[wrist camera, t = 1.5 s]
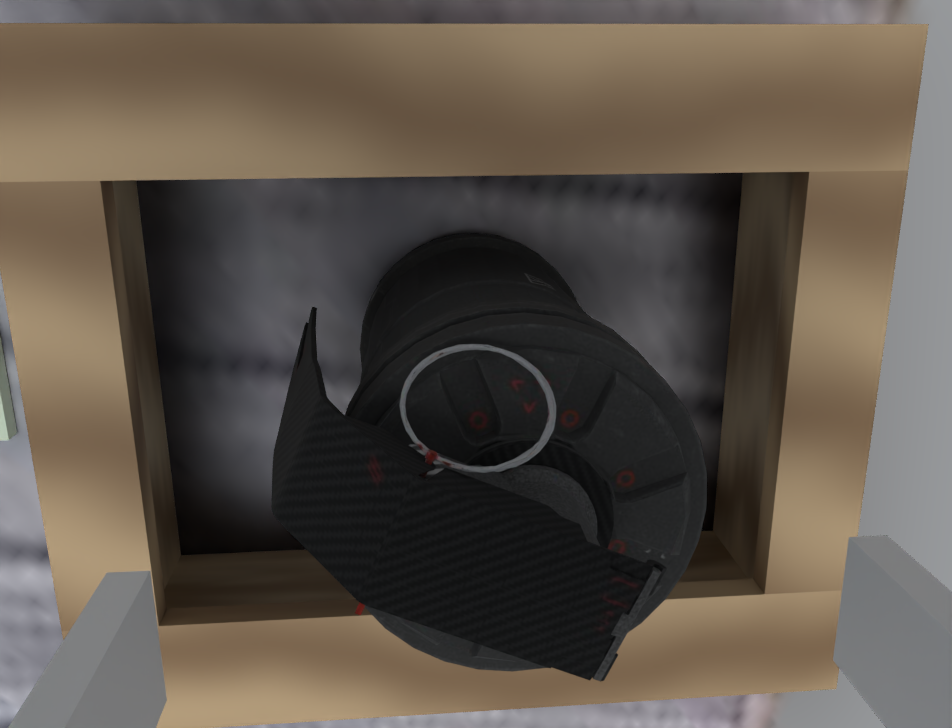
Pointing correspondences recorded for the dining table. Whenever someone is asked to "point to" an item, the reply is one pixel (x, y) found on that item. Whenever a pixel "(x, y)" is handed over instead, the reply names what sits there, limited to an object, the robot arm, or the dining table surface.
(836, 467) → the crate
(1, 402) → the board
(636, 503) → the black shaker bottle
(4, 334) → the dining table surface
